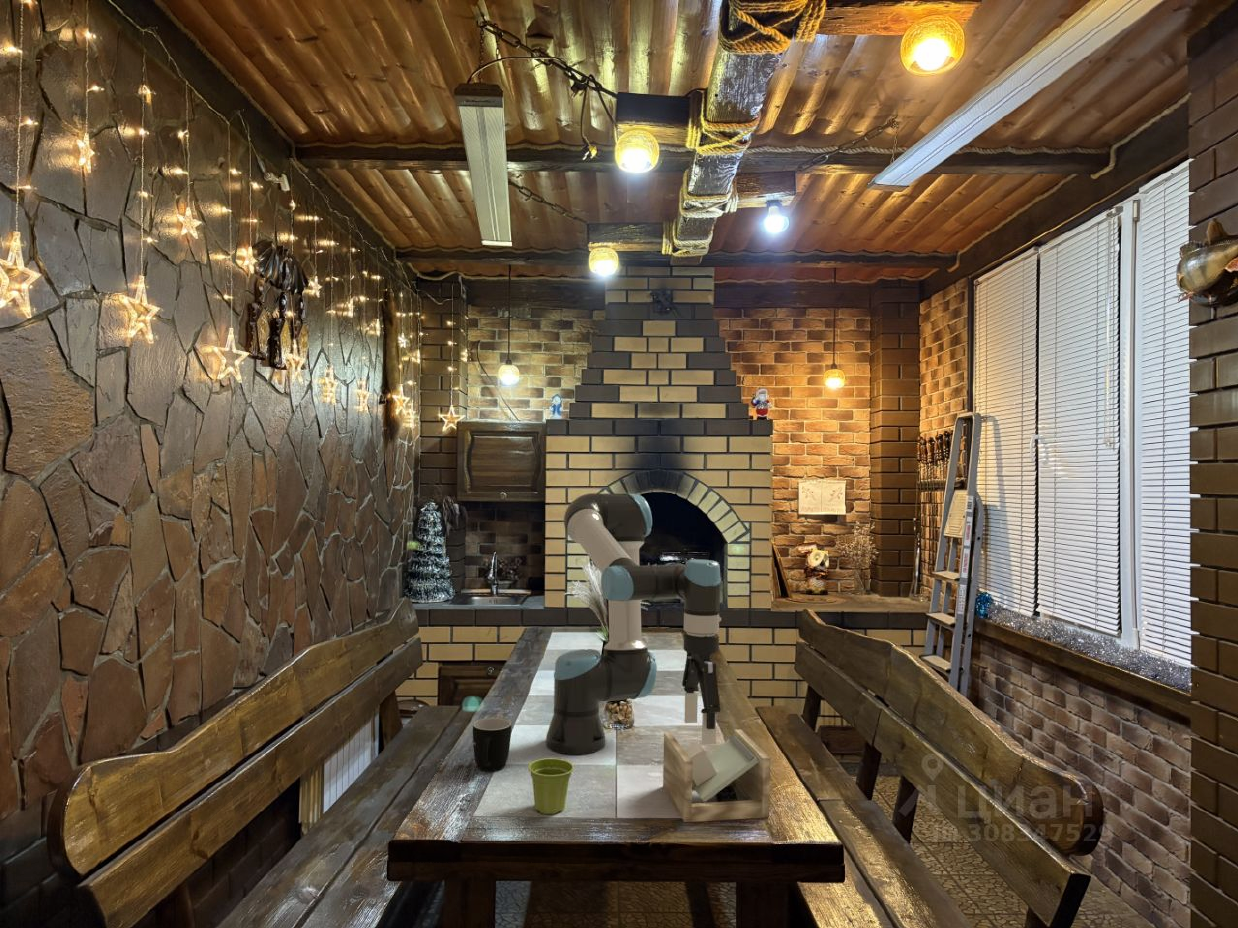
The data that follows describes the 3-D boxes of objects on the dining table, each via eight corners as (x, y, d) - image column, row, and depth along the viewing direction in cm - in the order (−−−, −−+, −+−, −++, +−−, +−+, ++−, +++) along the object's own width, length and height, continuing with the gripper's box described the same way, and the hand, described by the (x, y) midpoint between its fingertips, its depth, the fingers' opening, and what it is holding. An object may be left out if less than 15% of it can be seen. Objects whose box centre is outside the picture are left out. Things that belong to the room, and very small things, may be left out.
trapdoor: (703, 802, 158) (700, 797, 158) (685, 776, 172) (682, 771, 171) (758, 761, 160) (755, 756, 160) (736, 738, 174) (733, 734, 174)
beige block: (696, 786, 162) (683, 762, 162) (690, 777, 167) (677, 753, 167) (717, 773, 163) (703, 749, 163) (709, 764, 168) (697, 741, 168)
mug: (476, 758, 187) (477, 716, 187) (513, 760, 186) (514, 718, 186) (464, 778, 175) (465, 733, 175) (503, 779, 174) (504, 734, 174)
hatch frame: (684, 822, 155) (685, 762, 155) (662, 786, 173) (664, 732, 173) (769, 816, 158) (770, 757, 158) (739, 782, 176) (740, 729, 176)
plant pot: (573, 798, 165) (574, 758, 165) (572, 818, 156) (573, 775, 156) (529, 798, 165) (530, 757, 165) (525, 818, 155) (526, 774, 155)
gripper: (737, 645, 154) (735, 752, 153) (701, 621, 178) (699, 713, 178) (701, 646, 152) (698, 754, 152) (670, 621, 177) (668, 714, 177)
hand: (699, 732), depth 165 cm, fingers open, 13 cm apart
